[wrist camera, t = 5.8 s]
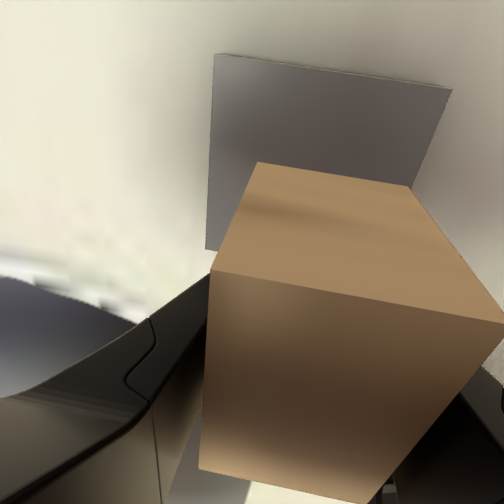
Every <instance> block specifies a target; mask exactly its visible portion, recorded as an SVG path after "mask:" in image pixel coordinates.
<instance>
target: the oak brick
mask: <svg viewBox="0 0 504 504" xmlns="http://www.w3.org/2000/svg"><path fill="white" fill-rule="evenodd" d="M503 338H504V312H503V311H502V309H501V308H500V307H499V305H498V304H497V303H496V301H495V300H494V299H493V298H492V296H491V295H490V294H489V292H488V291H487V290H486V288H485V287H484V286H483V284H482V283H481V282H480V280H479V279H478V278H477V277H476V275H475V274H474V273H473V271H472V270H471V269H470V267H469V266H468V265H467V263H466V262H465V261H464V259H463V258H462V257H461V256H460V254H459V253H458V252H457V250H456V249H455V248H454V246H453V245H452V244H451V242H450V241H449V240H448V238H447V237H446V236H445V235H444V233H443V232H442V231H441V229H440V228H439V227H438V225H437V224H436V223H435V221H434V220H433V219H432V217H431V216H430V215H429V214H428V212H427V211H426V210H425V208H424V207H423V206H422V204H421V203H420V202H419V200H418V199H417V198H416V196H415V195H414V194H413V192H412V191H411V190H410V189H409V187H408V186H402V185H396V184H390V183H383V182H377V181H371V180H365V179H359V178H353V177H347V176H341V175H335V174H329V173H323V172H317V171H311V170H305V169H299V168H293V167H287V166H280V165H274V164H268V163H262V162H257V164H256V166H255V169H254V171H253V173H252V175H251V178H250V180H249V182H248V185H247V187H246V189H245V191H244V194H243V196H242V198H241V201H240V203H239V205H238V207H237V210H236V212H235V214H234V217H233V219H232V221H231V223H230V226H229V228H228V230H227V233H226V235H225V237H224V239H223V242H222V244H221V246H220V249H219V251H218V253H217V255H216V258H215V260H214V262H213V265H212V267H211V269H210V285H209V302H208V319H207V336H206V353H205V369H204V386H203V403H202V420H201V437H200V438H201V439H200V454H199V469H202V470H206V471H211V472H215V473H220V474H224V475H229V476H234V477H238V478H243V479H247V480H251V481H256V482H261V483H265V484H270V485H274V486H279V487H283V488H288V489H292V490H297V491H301V492H306V493H310V494H315V495H319V496H324V497H328V498H333V499H337V500H342V501H346V502H351V503H356V504H367V503H368V502H369V501H370V500H371V499H372V497H373V496H374V495H375V494H376V492H377V491H378V490H379V489H380V488H381V486H382V485H383V484H384V483H385V482H386V480H387V479H388V478H389V477H390V475H391V474H392V473H393V472H394V471H395V469H396V468H397V467H398V466H399V465H400V463H401V462H402V461H403V460H404V458H405V457H406V456H407V455H408V454H409V452H410V451H411V450H412V449H413V447H414V446H415V445H416V444H417V443H418V441H419V440H420V439H421V438H422V437H423V435H424V434H425V433H426V432H427V430H428V429H429V428H430V427H431V426H432V424H433V423H434V422H435V421H436V419H437V418H438V417H439V416H440V415H441V413H442V412H443V411H444V410H445V409H446V407H447V406H448V405H449V404H450V402H451V401H452V400H453V399H454V398H455V396H456V395H457V394H458V393H459V392H460V390H461V389H462V388H463V387H464V385H465V384H466V383H467V382H468V381H469V379H470V378H471V377H472V376H473V374H474V373H475V372H476V371H477V370H478V368H479V367H480V366H481V365H482V364H483V362H484V361H485V360H486V359H487V357H488V356H489V355H490V354H491V353H492V351H493V350H494V349H495V348H496V346H497V345H498V344H499V343H500V342H501V340H502V339H503Z"/></svg>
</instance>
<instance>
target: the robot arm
mask: <svg viewBox="0 0 504 504" xmlns="http://www.w3.org/2000/svg"><path fill="white" fill-rule="evenodd" d="M209 285H210V273H209V274H207V275H206V276H204V277H203V278H202V279H200V280H199V281H198V282H196V283H195V284H193V285H192V286H191V287H189V288H188V289H186V290H185V291H184V292H182V293H181V294H179V295H178V296H177V297H175V298H174V299H173V300H171V301H170V302H168V303H167V304H166V305H164V306H163V307H161V308H160V309H159V310H157V311H156V312H155V313H153V314H152V315H150V316H149V318H146V319H145V320H143V321H142V322H140V323H139V324H138V325H136V326H135V327H133V328H132V329H130V330H129V331H127V332H126V333H125V334H123V335H122V336H120V337H119V338H117V339H116V340H114V341H112V342H110V343H109V344H107V345H105V346H104V347H102V348H101V349H99V350H97V351H96V352H94V353H92V354H90V355H89V356H87V357H85V358H83V359H82V360H80V361H79V362H77V363H75V364H73V365H71V366H70V367H68V368H66V369H64V370H63V371H61V372H59V373H58V374H56V375H54V376H52V377H51V378H49V379H48V380H46V381H44V382H42V383H40V384H38V385H36V386H34V387H32V388H30V389H27V390H25V391H23V392H20V393H17V394H14V395H11V396H7V397H3V398H0V504H164V501H165V498H166V496H167V493H168V491H169V488H170V485H171V482H172V480H173V477H174V475H175V472H176V469H177V467H178V464H179V462H180V459H181V456H182V454H183V451H184V448H185V446H186V443H187V440H188V438H189V435H190V433H191V430H192V427H193V425H194V422H195V419H196V417H197V414H198V411H199V409H200V406H201V403H202V401H203V386H204V369H205V353H206V336H207V319H208V302H209ZM367 504H504V388H503V385H502V384H501V383H500V382H499V381H497V380H496V379H495V378H494V377H493V376H492V375H491V374H490V373H489V372H487V371H486V370H485V369H484V368H483V367H482V366H480V367H479V368H478V370H477V371H476V372H475V373H474V374H473V376H472V377H471V378H470V379H469V381H468V382H467V383H466V384H465V385H464V387H463V388H462V389H461V390H460V392H459V393H458V394H457V395H456V396H455V398H454V399H453V400H452V401H451V402H450V404H449V405H448V406H447V407H446V409H445V410H444V411H443V412H442V413H441V415H440V416H439V417H438V418H437V419H436V421H435V422H434V423H433V424H432V426H431V427H430V428H429V429H428V430H427V432H426V433H425V434H424V435H423V437H422V438H421V439H420V440H419V441H418V443H417V444H416V445H415V446H414V447H413V449H412V450H411V451H410V452H409V454H408V455H407V456H406V457H405V458H404V460H403V461H402V462H401V463H400V465H399V466H398V467H397V468H396V469H395V471H394V472H393V473H392V474H391V475H390V477H389V478H388V479H387V480H386V482H385V483H384V484H383V485H382V486H381V488H380V489H379V490H378V491H377V492H376V494H375V495H374V496H373V497H372V499H371V500H370V501H369V502H368V503H367Z"/></svg>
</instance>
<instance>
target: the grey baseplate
mask: <svg viewBox="0 0 504 504" xmlns="http://www.w3.org/2000/svg"><path fill="white" fill-rule="evenodd" d="M452 90H453V89H449V88H445V87H441V86H436V85H429V84H423V83H416V82H409V81H402V80H396V79H389V78H382V77H375V76H369V75H362V74H355V73H348V72H342V71H335V70H328V69H321V68H314V67H308V66H301V65H294V64H287V63H281V62H274V61H267V60H260V59H254V58H247V57H240V56H233V55H227V54H214V68H213V90H212V111H211V133H210V155H209V177H208V199H207V221H206V242H205V249H207V250H212V251H219V249H220V246H221V244H222V242H223V239H224V237H225V235H226V233H227V230H228V228H229V226H230V223H231V221H232V219H233V217H234V214H235V212H236V210H237V207H238V205H239V203H240V201H241V198H242V196H243V194H244V191H245V189H246V187H247V185H248V182H249V180H250V178H251V175H252V173H253V171H254V169H255V166H256V164H257V162H262V163H268V164H274V165H280V166H287V167H293V168H299V169H305V170H311V171H317V172H323V173H329V174H335V175H341V176H347V177H353V178H359V179H365V180H371V181H377V182H383V183H390V184H396V185H402V186H408V187H409V189H411V186H412V184H413V181H414V179H415V177H416V174H417V172H418V170H419V167H420V165H421V163H422V160H423V158H424V156H425V153H426V151H427V148H428V146H429V144H430V141H431V139H432V137H433V134H434V132H435V130H436V127H437V125H438V123H439V120H440V118H441V115H442V113H443V111H444V108H445V106H446V104H447V101H448V99H449V97H450V94H451V92H452Z"/></svg>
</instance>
